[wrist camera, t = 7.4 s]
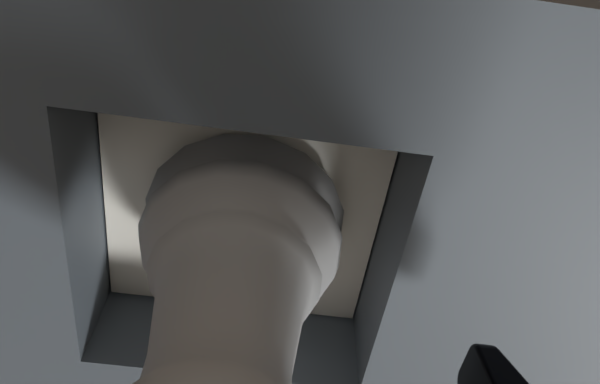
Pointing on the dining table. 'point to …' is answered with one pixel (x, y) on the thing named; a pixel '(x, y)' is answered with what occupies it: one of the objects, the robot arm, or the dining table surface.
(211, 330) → the rook chess piece
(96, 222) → the socket board
